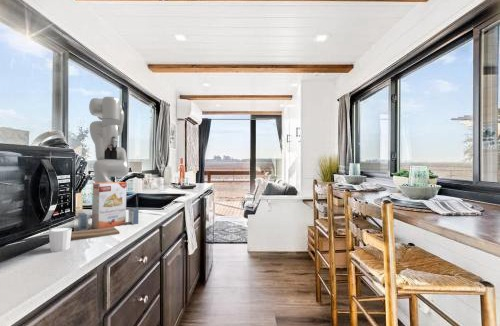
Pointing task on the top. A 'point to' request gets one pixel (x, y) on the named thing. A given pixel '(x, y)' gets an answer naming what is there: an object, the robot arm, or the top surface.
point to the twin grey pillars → (84, 219)
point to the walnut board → (93, 233)
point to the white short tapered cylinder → (60, 239)
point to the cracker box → (108, 204)
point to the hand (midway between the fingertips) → (110, 159)
